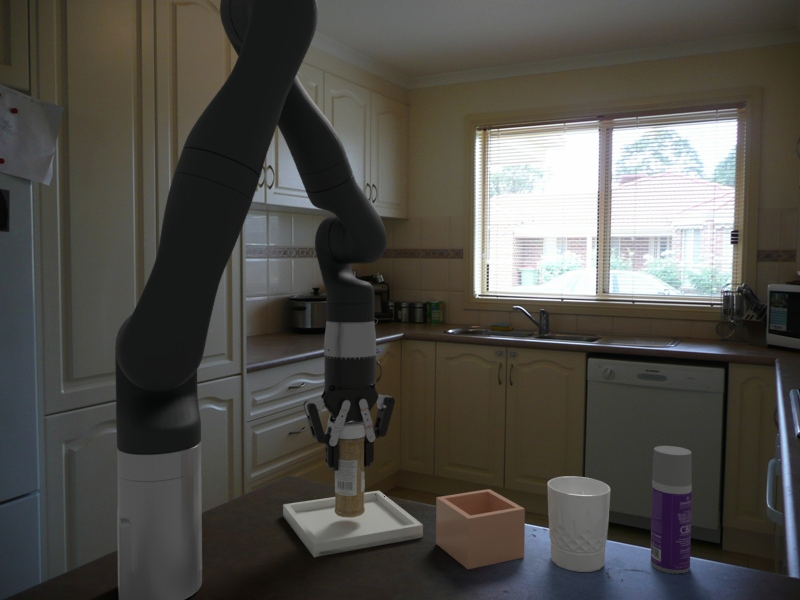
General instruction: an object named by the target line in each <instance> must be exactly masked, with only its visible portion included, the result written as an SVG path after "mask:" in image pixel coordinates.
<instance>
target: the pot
mask: <svg viewBox="0 0 800 600" xmlns="http://www.w3.org/2000/svg"><path fill="white" fill-rule="evenodd" d="M435 505H436V507H435V508H436V511H435V513H436V514H435V516H436V517H435V520H436V521H435V528H436V529H435V531H436V532H435V544H436V545H437V546H438V547H440V549H442V550H443V551H444V552H445V553H447V554H448V555H449V556H451V557H452V558H453V559H454V560H456V561H457V562H458V563H459V564H461V565H462V566H463V567H464V568H465V569H467V570H473V569H476V568H481V567H485V566H491V565H495V564H500V563H504V562H509V561H513V560H519V559H523V558H525V531H526V529H525V528H526V527H525V526H526V525H525V522H526V509H525V508H524V507H523V506H521V505H519V504H517V503H515V502H514V501H512V500H510V499H509V498H507V497H504V496H503V495H501V494H499V493H497V492H495V491H493V490H492V489H490V488H489V489H488V488H487V489H483V490H482V489H481V490H476V491H475V490H474V491H469V492H463V493H457V494H449V495H443V496H437V497H436V504H435Z"/></svg>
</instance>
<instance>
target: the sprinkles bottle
mask: <svg viewBox="0 0 800 600" xmlns="http://www.w3.org/2000/svg"><path fill="white" fill-rule="evenodd" d="M364 436H365V426H364V424H363V423H361V422H359V421H358V422H357V421H350V422H347V423H344V426H343V429H342V431H341V432H340V435H339V438H338V442H337V444H336V445H337V446H338V471H334V492H335V493H334V497H335V513H336V514H337V515H338V516H341V517H348V518H352V517H357V516H360V515H362V514H363V513H364V512H365V508H364V493H365V487H366V486H365V467H364V439H365V437H364Z"/></svg>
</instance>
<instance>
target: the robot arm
mask: <svg viewBox="0 0 800 600" xmlns="http://www.w3.org/2000/svg"><path fill="white" fill-rule="evenodd" d="M219 12H220V13H219V14H220V20H221V24H222V26H223V30H224V32H225V34H226V36H227V39H228V40H229V42H230V44H231V46H232V48H233V49H234V51H235V53H236V55H237V59H236V62H235V64H234V66H233V68H232V71H231V73H230V74H229V76H228V77H227V79H226V81H225V82H224V83H223V85H222V86H221V87H220V89H219V90H218V92H217V93H216V94H215V96H214V97H213V98H212V100H211V101H210V102H209V103H208V105H207V106H206V107H205V109H204V110H203V112H202V113H201V114H200V116H199V117H198V118H197V119H196V121H195V123H194V125H193V126H192V128H191V129H190V132H189V134H188V135H187V138H186V139H185V142H184V145H183V147H182V150H181V153H180V156H179V159H178V162H177V165H176V167H175V170H174V174H173V177H172V180H171V182H170V183H171V184H170V186H169V191H168V195H167V198H166V199H167V200H166V203H165V209H164V213H163V217H162V219H163V220H162V224H161V225H162V226H161V231H160V237H159V243H158V244H159V245H158V250H157V254H156V258H155V261H154V264H153V267H152V269H151V272H150V274H149V277H148V279H147V281H146V283H145V286H144V288H143V290H142V293H141V295H140V297H139V299H138V301H137V304H136V306H135V308H134V309H133V312H132V314H131V315H130V316H128V317H127V318H126V319H125V320H124V321H123V323H122V325H120V327H119V329H118V331H117V334H116V338H115V348H114V351H115V353H114V354H115V355H114V356H115V359H114V360H115V361H114V362H115V363H114V364H115V422H116V423H115V424H116V426H115V428H116V449H117V451H116V452H117V453H116V457H117V458H116V460H117V461H116V465H117V467H116V468H117V471H116V472H117V511H116V513H117V514H116V515H117V516H116V518H117V520H116V522H117V524H116V525H117V527H116V529H117V532H116V533H117V589H118V591H117V592H118V600H186V599H188V598H189V597H192V596H193V595H194V594H196V593H198V591H199V590H200V589H201V587H202V584H203V549H202V548H203V547H202V545H203V538H202V537H203V536H202V535H203V533H202V532H203V530H202V529H203V527H202V526H203V525H202V524H203V523H202V516H203V515H202V513H203V512H202V511H203V509H202V504H203V503H202V422H201V420H202V419H201V414H200V413H201V412H200V408H199V407H200V405H199V399H198V398H199V396H198V395H199V394H198V393H199V392H198V369H199V367H200V365H201V363H202V361H203V357H204V352H205V347H206V343H207V337H208V334H209V327H210V324H211V318H212V315H213V310H214V306H215V301H216V297H217V294H218V293H217V292H218V291H219V286H220V282H221V280H222V277H223V274H224V272H225V269H226V267H227V265H228V262H229V260H230V258H231V256H232V253H233V251H234V248H235V246H236V244H237V242H238V240H239V236H240V234H241V232H242V229H243V226H244V224H245V221H246V219H247V215H248V213H249V211H250V208H251V206H252V203H253V200H254V198H255V194H256V190H257V187H258V185H259V181H260V178H261V175H262V173H263V169H264V165H265V161H266V158H267V154H268V151H269V148H270V146H271V143H272V140H273V138H274V135H275V132H276V129H277V127H278V129H279V131H280V133H281V135H282V138H284V142H285V143H286V145H287V146H286V147H287V148H288V150H289V153H290V155H291V157H292V160H293V162H294V164H295V168H296V170H297V172H298V174H299V177H300V180H301V182H302V184H303V188H304V189H305V193H306V195H307V198H308V200H309V201H310V202H309V203H311V204H312V206H314V207H315V208H316V209H319V210H324V211H327V212H330V213H332V214H333V216H328V217H325V219H323V220H322V221H321V223H319V224H318V226H317V230H316V232H315V237H314V250H315V255H316V258H317V259H316V260H317V263H318V268H319V270H320V274H321V278H322V281H323V282H322V283H323V286H324V289H325V292H326V293H325V294H326V301H325V302H326V307H325V311H326V313H325V314H326V315H325V318H326V320H325V321H326V323H325V324H326V325H325V332H324V344H323V352H324V371H323V372H324V378H323V379H324V382H323V383H324V389H323V392H322V394H321V397H319V398H317V399H314V400H312V401H311V400H309V399H308V400H304V402H303V409H304V412H305V415H306V418H307V423H308V426H309V430H310V432H311V435H312V438H313V439H314V440H315V441H316V442H317V443H319V444H320V443H321V444H324V456H325V457H324V462H325V465H326V466H327V467H328V468H329V470H331V471H332V472H335V471H338V446H337V445H336V444H337V442H338V438H339V435H340V432H341V431H342V429H343V426H344V423H347V422H350V421H357V422H358V421H359V422H361V423H363V424H364V426H365V436H364V437H365V439H364V468H370V467H371V463H374V459H375V450H374V449H375V441H376V440H377V439H379V438H380V437H383V438H385V436H386V435H387V433H388V428H389V426H390V422H391V418H392V414H393V410H394V407H395V403H396V400H395V398H394V397H393V396H390V395H387V394H379V392H378V390H377V388H376V382H377V380H376V379H377V372H376V371H377V334H376V327H375V299H376V298H375V288H374V286H373V285H372V284H371V283H370V282H368V281H365V280H362V279H359V278H357V277H355V275H354V272H353V270H352V267H351V264H358V265H359V264H372V263H375V262H377V261H379V260H381V258H382V257H383V256H384V254H385V252H386V248H387V244H388V237H387V236H388V235H387V230H386V227H385V224H384V222H383V219H382V218H381V217H380V215H379V213H378V211H377V210H376V208H375V207H374V206H373V204H372V203H371V201H370V200H369V198H368V197H367V196H366V193H365V192H364V191H363V189H362V188H361V187H360V185H359V183H357V181H356V178H355V174H354V173H353V169H352V167H351V164H350V161H349V157H348V155H347V152H346V149H345V146H344V145H343V141H342V140H341V138H340V136H339V134H338V132H337V131H336V129H335V127H334V126H333V125H332V123H331V122H330V120H329V119H328V118H327V116H326V115H325V114H324V112H323V111H321V109H320V107H318V105H317V104H316V103H315V102H314V100H313V99H312V98H311V96H310V95H309V94H308V92H307V91H306V89H305V87H304V86H303V83H301V80H300V79H299V77H298V72H299V70H300V68H301V66H302V64H303V62H304V59H305V58H306V55H307V53H308V51H309V49H310V46H311V45H312V41H313V39H314V37H315V33H316V30H317V26H318V21H319V20H318V18H319V5H318V0H220V4H219ZM375 405H376V407H377V414H376V416H375V421H374V423H373V420H372V417H371V412H372V411H371V410H372V409H373V408H374V406H375ZM323 407H325V408H326V410H328V412H329V416H328V419H327V424H326V425H327V427H326V431H324V429H323V425H322V422H321V421H322V420H321V417H320V416H321V414H322V413H323V410H322V409H323Z"/></svg>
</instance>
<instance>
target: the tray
mask: <svg viewBox="0 0 800 600" xmlns="http://www.w3.org/2000/svg"><path fill="white" fill-rule="evenodd" d="M375 494H376V495H375ZM384 496H385V497H384ZM364 508H365V512H364V513H363V514H362V515H360V516H357V517H352V518H348V517H341V516H338V515H337V514H336V513H335V496H332V497H326V498H319V499H312V500H305V501H299V502H292V503H291V502H290V503H284V504H283V506H282V509H283V510H282V515H283V518H284V520H285V521H286V522H287V524H288V525H289V526H290V527H291V529H292V530H293V531H294V533H295V534H296V535H297V536H298V538H299V539H300V540H301V542H302V543H303V544H304V546H305V547H306V549H307V550H308V551H309V553H310V554H311V555H312V556H313V558H317V557H322V556H328V555H329V556H330V555H334V554H339V553H340V554H341V553H346V552H351V551H356V550H361V549H367V548H373V547H377V546H384V545H387V544H389V545H390V544H394V543H400V542H404V541H405V542H406V541H411V540H417V539H420V538H424V532H423V531H424V525H423V523H421V521H419V520H418V519H416V518H415V517H413V515H411V514H410V513H408V512H407V511H406V510H405V509H404V508H402V507H401V506H400V505H398V503H396V502H394V501H393V500H392V499H390V498H389V497H388V496H386V495H385V494H384V493H383V492H381V491H380V490H374V491H373V490H372V491H366V492H364Z"/></svg>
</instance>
